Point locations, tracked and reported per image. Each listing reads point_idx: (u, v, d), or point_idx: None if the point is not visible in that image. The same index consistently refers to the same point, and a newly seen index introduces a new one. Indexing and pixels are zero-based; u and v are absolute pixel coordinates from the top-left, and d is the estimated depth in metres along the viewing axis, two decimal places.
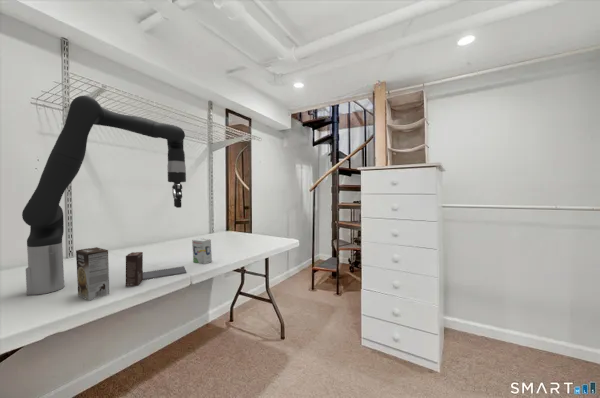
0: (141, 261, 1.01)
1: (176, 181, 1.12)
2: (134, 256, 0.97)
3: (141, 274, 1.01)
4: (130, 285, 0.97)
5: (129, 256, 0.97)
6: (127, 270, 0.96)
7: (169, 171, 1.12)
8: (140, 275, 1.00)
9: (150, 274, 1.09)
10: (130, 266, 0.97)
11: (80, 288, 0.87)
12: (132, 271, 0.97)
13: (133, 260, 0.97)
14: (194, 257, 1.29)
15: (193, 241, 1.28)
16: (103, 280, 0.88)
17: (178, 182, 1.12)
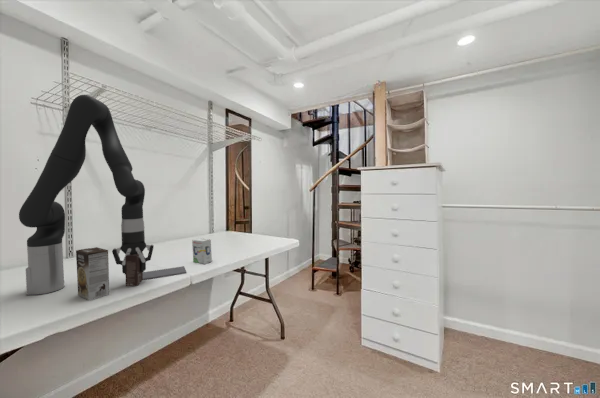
0: (141, 261, 1.01)
1: (144, 240, 1.01)
2: (134, 256, 0.97)
3: (141, 274, 1.01)
4: (130, 285, 0.97)
5: (129, 256, 0.97)
6: (127, 270, 0.96)
7: (138, 230, 0.97)
8: (140, 275, 1.00)
9: (150, 274, 1.09)
10: (130, 266, 0.97)
11: (80, 288, 0.87)
12: (132, 271, 0.97)
13: (133, 260, 0.97)
14: (194, 257, 1.29)
15: (193, 241, 1.28)
16: (103, 280, 0.88)
17: (144, 241, 1.01)
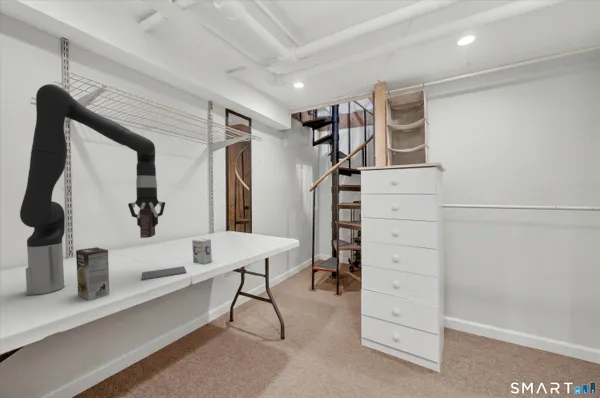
0: (153, 216, 1.10)
1: (156, 197, 1.09)
2: (147, 210, 1.06)
3: (154, 228, 1.10)
4: (144, 236, 1.06)
5: (143, 210, 1.05)
6: (141, 222, 1.05)
7: (152, 186, 1.06)
8: (153, 229, 1.09)
9: (150, 274, 1.09)
10: (144, 219, 1.05)
11: (80, 288, 0.87)
12: (146, 223, 1.06)
13: (147, 213, 1.06)
14: (194, 257, 1.29)
15: (193, 241, 1.28)
16: (103, 280, 0.88)
17: None
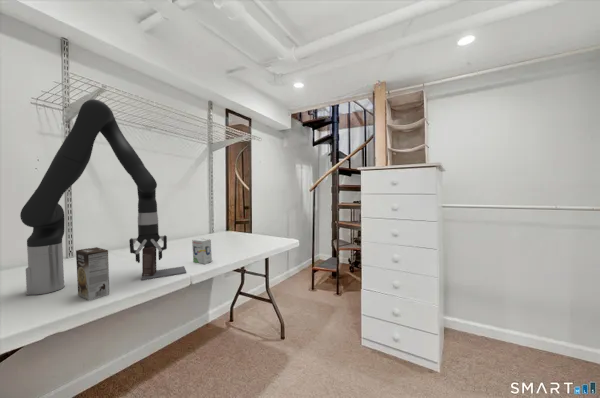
0: (155, 253, 1.11)
1: (158, 233, 1.10)
2: (150, 249, 1.06)
3: (155, 265, 1.11)
4: (146, 275, 1.06)
5: (145, 249, 1.06)
6: (144, 261, 1.06)
7: (153, 223, 1.07)
8: (154, 266, 1.10)
9: None
10: (146, 258, 1.06)
11: (80, 288, 0.87)
12: (148, 262, 1.06)
13: (149, 252, 1.06)
14: (194, 257, 1.29)
15: (193, 241, 1.28)
16: (103, 280, 0.88)
17: (158, 233, 1.11)
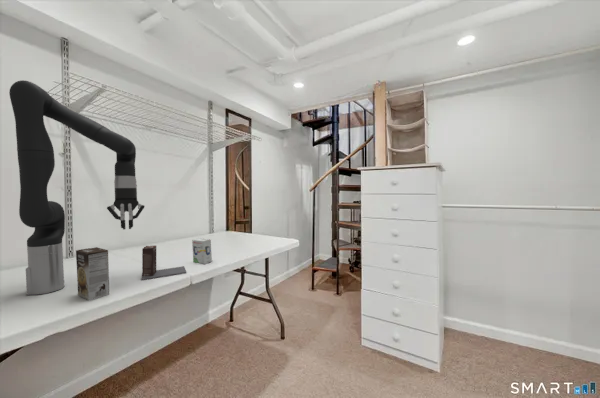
0: (155, 253, 1.11)
1: (136, 198, 1.06)
2: (150, 249, 1.06)
3: (155, 265, 1.11)
4: (146, 275, 1.06)
5: (145, 249, 1.06)
6: (144, 261, 1.06)
7: (131, 187, 1.02)
8: (154, 266, 1.10)
9: None
10: (146, 258, 1.06)
11: (80, 288, 0.87)
12: (148, 262, 1.06)
13: (149, 252, 1.06)
14: (194, 257, 1.29)
15: (193, 241, 1.28)
16: (103, 280, 0.88)
17: (136, 199, 1.06)
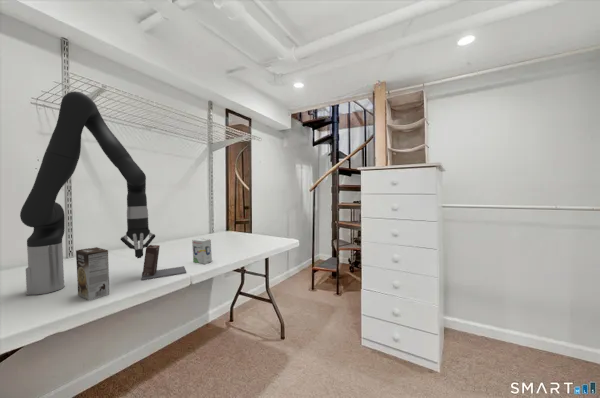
0: (158, 253, 1.11)
1: (148, 227, 1.08)
2: (153, 248, 1.07)
3: (156, 265, 1.11)
4: (146, 274, 1.06)
5: (149, 248, 1.06)
6: (146, 260, 1.06)
7: (143, 217, 1.05)
8: (155, 266, 1.10)
9: None
10: (149, 257, 1.06)
11: (80, 288, 0.87)
12: (150, 262, 1.06)
13: (152, 252, 1.07)
14: (194, 257, 1.29)
15: (193, 241, 1.28)
16: (103, 280, 0.88)
17: (148, 228, 1.08)
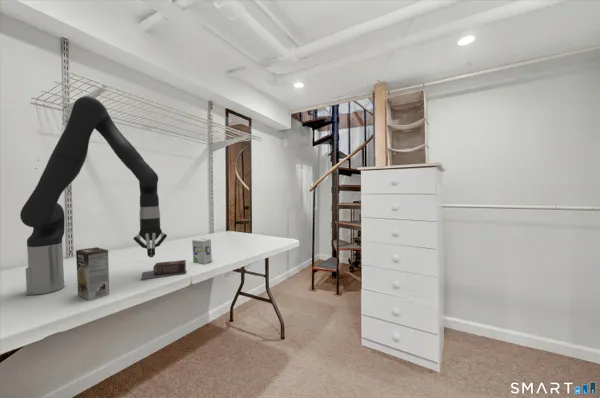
0: None
1: None
2: (183, 270, 1.11)
3: None
4: (154, 269, 1.07)
5: (183, 266, 1.11)
6: (169, 266, 1.09)
7: (155, 217, 1.07)
8: None
9: (150, 274, 1.09)
10: (173, 268, 1.09)
11: (80, 288, 0.87)
12: (168, 270, 1.09)
13: (179, 269, 1.10)
14: (194, 257, 1.29)
15: (193, 241, 1.28)
16: (103, 280, 0.88)
17: None
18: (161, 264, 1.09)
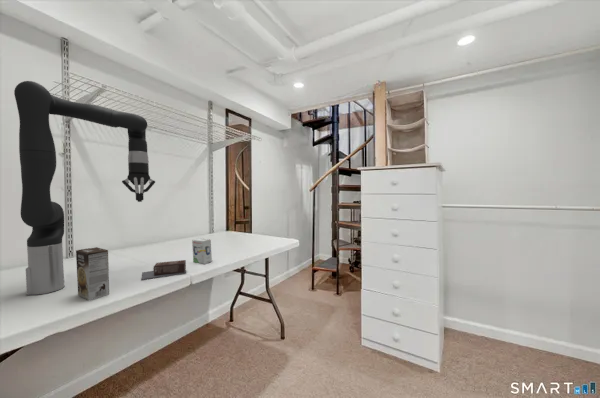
0: None
1: (148, 173, 1.13)
2: (183, 270, 1.11)
3: None
4: (154, 269, 1.07)
5: (183, 266, 1.11)
6: (169, 266, 1.09)
7: (143, 162, 1.10)
8: None
9: (150, 274, 1.09)
10: (173, 268, 1.09)
11: (80, 288, 0.87)
12: (168, 270, 1.09)
13: (179, 269, 1.10)
14: (194, 257, 1.29)
15: (193, 241, 1.28)
16: (103, 280, 0.88)
17: (148, 174, 1.13)
18: (161, 264, 1.09)
